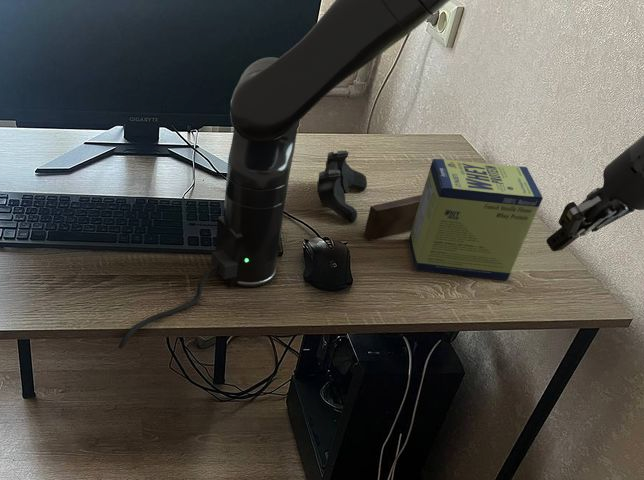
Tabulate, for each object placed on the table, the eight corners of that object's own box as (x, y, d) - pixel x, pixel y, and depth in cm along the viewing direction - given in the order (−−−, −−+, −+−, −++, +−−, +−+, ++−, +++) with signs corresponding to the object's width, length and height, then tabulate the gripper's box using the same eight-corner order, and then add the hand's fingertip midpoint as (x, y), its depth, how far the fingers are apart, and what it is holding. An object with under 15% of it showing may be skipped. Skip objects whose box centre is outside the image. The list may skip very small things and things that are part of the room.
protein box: (509, 281, 115) (545, 197, 105) (414, 271, 116) (440, 187, 106) (496, 247, 123) (528, 166, 113) (407, 238, 124) (430, 157, 114)
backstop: (369, 240, 123) (376, 210, 119) (363, 235, 124) (370, 206, 120) (456, 219, 130) (466, 190, 126) (450, 215, 131) (459, 186, 127)
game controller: (336, 193, 141) (321, 148, 137) (370, 184, 138) (355, 138, 133) (322, 232, 130) (304, 184, 125) (357, 224, 126) (341, 174, 121)
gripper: (670, 137, 90) (567, 220, 105) (606, 144, 85) (507, 230, 99) (706, 182, 88) (595, 261, 102) (642, 192, 82) (535, 273, 96)
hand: (552, 245), depth 101 cm, fingers closed
